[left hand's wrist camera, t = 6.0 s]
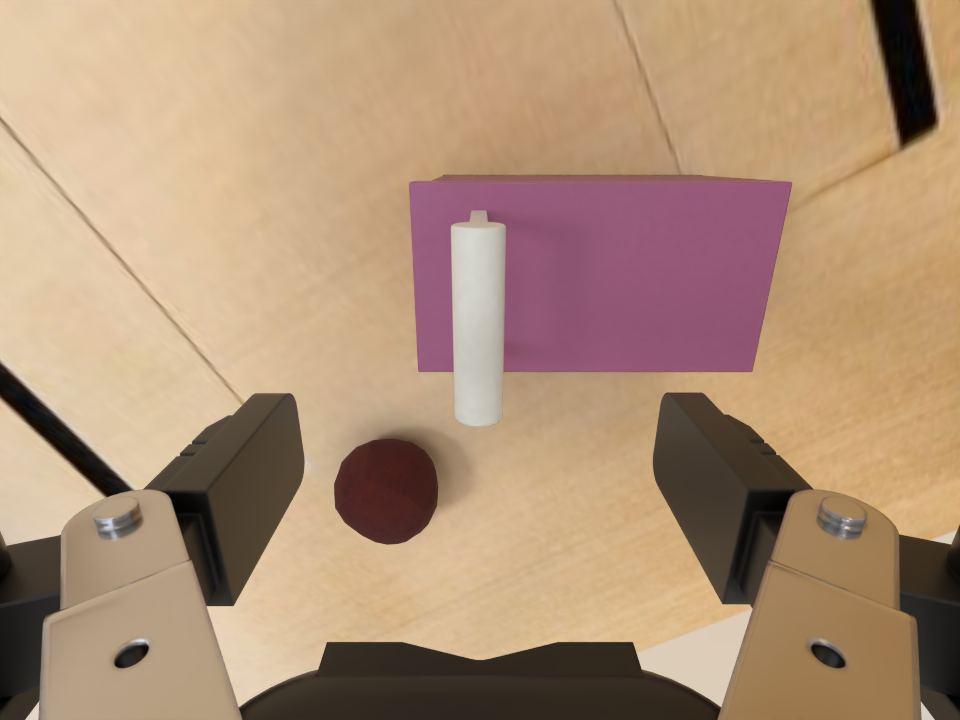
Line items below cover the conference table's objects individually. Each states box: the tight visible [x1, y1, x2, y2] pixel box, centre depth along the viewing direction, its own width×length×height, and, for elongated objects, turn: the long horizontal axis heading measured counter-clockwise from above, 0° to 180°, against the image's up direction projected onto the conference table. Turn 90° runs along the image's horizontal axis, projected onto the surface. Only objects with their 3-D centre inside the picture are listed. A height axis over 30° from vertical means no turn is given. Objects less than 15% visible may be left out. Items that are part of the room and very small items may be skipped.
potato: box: [334, 439, 438, 545], centre depth 38 cm, size 7×8×7 cm
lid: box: [409, 181, 792, 427], centre depth 21 cm, size 17×9×9 cm, turn 90°
